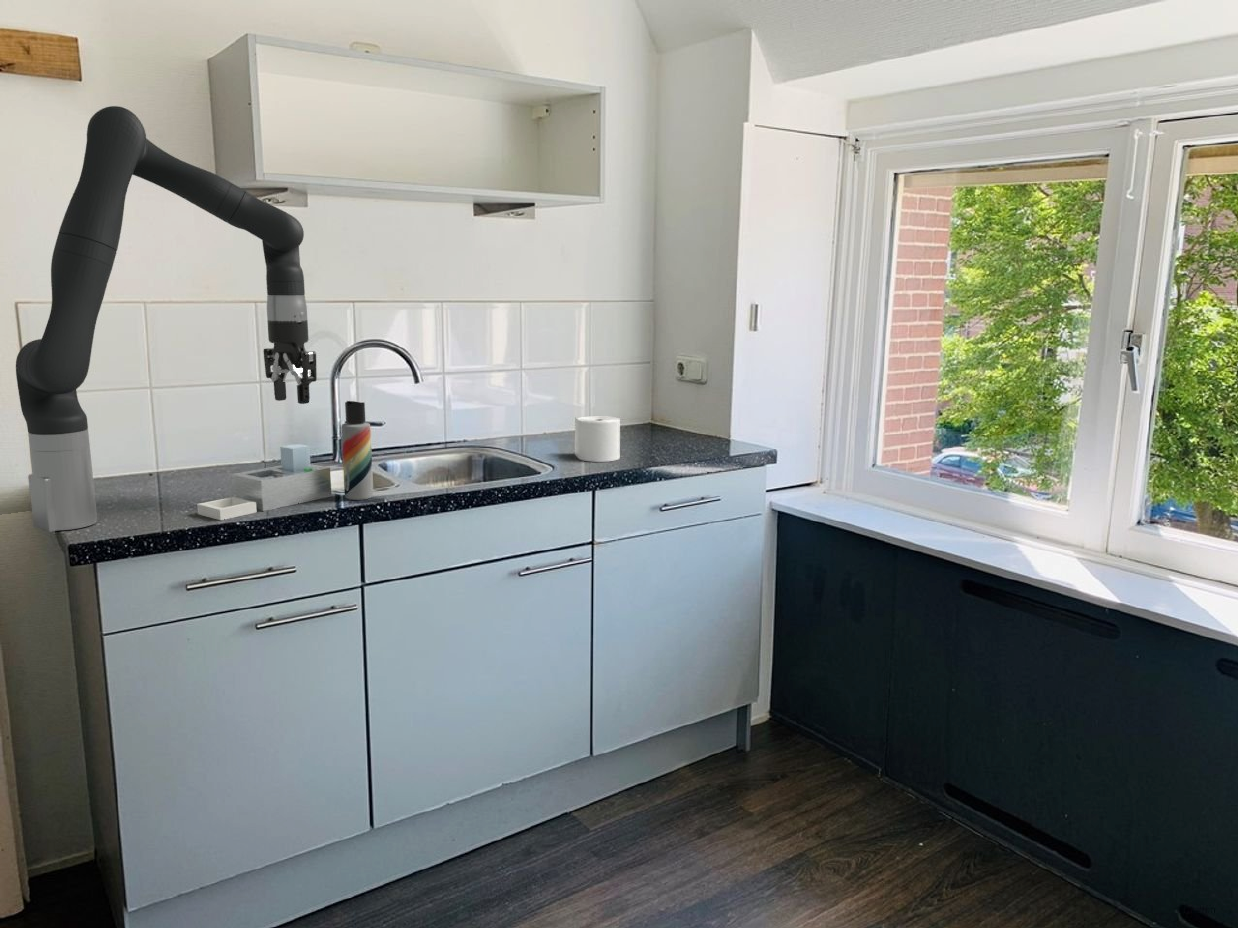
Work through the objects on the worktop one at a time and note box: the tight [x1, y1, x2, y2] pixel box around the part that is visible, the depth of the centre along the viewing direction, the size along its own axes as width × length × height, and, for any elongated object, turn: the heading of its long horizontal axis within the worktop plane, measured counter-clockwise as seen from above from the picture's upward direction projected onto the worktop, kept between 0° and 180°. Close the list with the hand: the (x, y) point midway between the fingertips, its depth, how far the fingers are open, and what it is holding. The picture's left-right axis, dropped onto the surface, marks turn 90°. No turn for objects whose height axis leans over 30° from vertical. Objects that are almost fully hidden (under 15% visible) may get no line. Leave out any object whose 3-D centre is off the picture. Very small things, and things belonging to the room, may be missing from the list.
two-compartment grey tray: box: [230, 463, 332, 512], centre depth 191 cm, size 16×10×6 cm, turn 145°
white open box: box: [196, 496, 258, 521], centre depth 180 cm, size 8×8×2 cm
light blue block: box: [280, 443, 311, 472], centre depth 193 cm, size 4×4×9 cm
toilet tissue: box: [574, 415, 621, 463], centre depth 237 cm, size 11×12×10 cm
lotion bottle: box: [340, 400, 374, 501], centre depth 193 cm, size 6×6×20 cm
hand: (292, 401), depth 190 cm, fingers open, 7 cm apart
